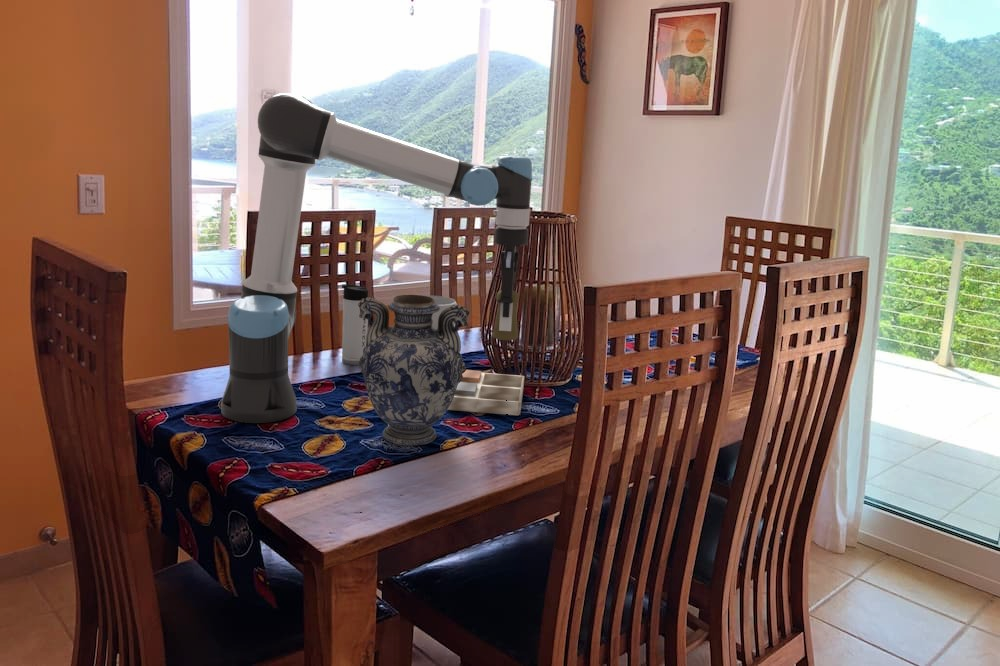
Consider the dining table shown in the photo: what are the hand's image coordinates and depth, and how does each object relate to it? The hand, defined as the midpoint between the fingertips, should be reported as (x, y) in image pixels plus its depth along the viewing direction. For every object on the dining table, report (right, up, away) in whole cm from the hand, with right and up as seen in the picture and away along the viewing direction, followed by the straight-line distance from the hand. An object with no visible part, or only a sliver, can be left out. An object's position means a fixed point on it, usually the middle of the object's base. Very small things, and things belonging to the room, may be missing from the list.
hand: (505, 327), depth 191 cm
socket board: (-4, -16, -1) cm, 17 cm away
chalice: (-20, -7, +33) cm, 39 cm away
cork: (0, -2, +1) cm, 2 cm away
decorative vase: (-20, -22, -26) cm, 40 cm away
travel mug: (-39, -9, +21) cm, 45 cm away
